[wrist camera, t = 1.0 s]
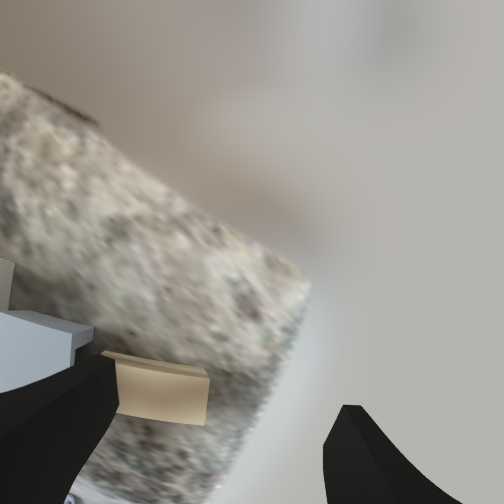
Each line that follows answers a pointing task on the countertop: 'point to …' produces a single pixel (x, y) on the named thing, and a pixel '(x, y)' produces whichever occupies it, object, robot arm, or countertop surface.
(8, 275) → the board
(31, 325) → the slate block
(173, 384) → the birch bar
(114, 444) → the countertop surface
